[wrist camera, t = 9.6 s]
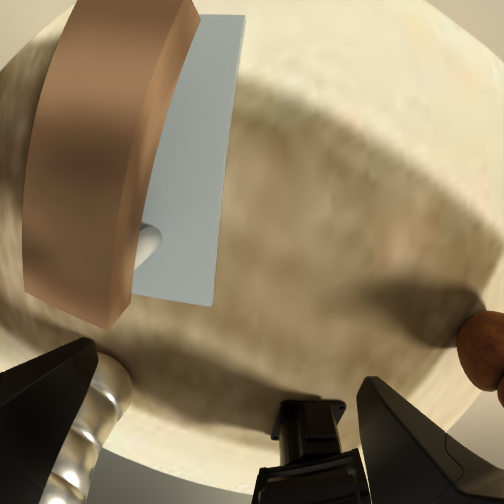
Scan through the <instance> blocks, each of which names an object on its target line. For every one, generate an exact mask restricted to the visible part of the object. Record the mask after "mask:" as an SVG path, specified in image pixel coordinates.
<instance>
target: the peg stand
mask: <svg viewBox="0 0 504 504" xmlns="http://www.w3.org/2000/svg"><path fill="white" fill-rule="evenodd" d="M199 16H200V18H201V22H200V24H199V26H198V29H197V31H196V33H195V36H194V38H193V41H192V43H191V46H190V48H189V51H188V54H187V56H186V59H185V62H184V64H183V67H182V70H181V73H180V76H179V78H178V81H177V84H176V87H175V90H174V93H173V97H172V100H171V103H170V106H169V109H168V113H167V116H166V119H165V123H164V126H163V130H162V133H161V137H160V141H159V145H158V148H157V152H156V156H155V160H154V165H153V169H152V173H151V177H150V182H149V186H148V191H147V196H146V201H145V206H144V211H143V216H142V222H141V227H140V233H139V239H138V246H137V252H136V259H135V266H134V274H133V282H132V291H131V293H132V294H137V295H142V296H148V297H154V298H159V299H165V300H171V301H177V302H183V303H190V304H196V305H203V306H210V307H211V305H212V302H213V297H214V283H215V271H216V258H217V247H218V236H219V225H220V215H221V204H222V195H223V185H224V176H225V167H226V158H227V150H228V142H229V133H230V126H231V118H232V110H233V103H234V95H235V88H236V81H237V74H238V68H239V61H240V54H241V48H242V42H243V36H244V29H245V23H246V20H245V16H244V15H199Z"/></svg>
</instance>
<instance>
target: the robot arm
mask: <svg viewBox="0 0 504 504" xmlns="http://www.w3.org/2000/svg"><path fill="white" fill-rule="evenodd" d="M98 361H99V359H98V354H97V349H96V345H95V342H94V340H92V339H89V338H86V337H82V338H80V339H77V340H75V341H73V342H70V343H68V344H66V345H64V346H61V347H59V348H57V349H54V350H52V351H50V352H48V353H45V354H43V355H41V356H38V357H36V358H34V359H31V360H29V361H27V362H25V363H22V364H20V365H18V366H15V367H13V368H11V369H8V370H6V371H5V372H1V373H0V504H39V502H40V500H41V497H42V494H43V492H44V489H45V486H46V484H47V481H48V479H49V476H50V474H51V471H52V469H53V466H54V464H55V462H56V459H57V457H58V455H59V452H60V450H61V448H62V446H63V443H64V441H65V439H66V437H67V435H68V433H69V430H70V428H71V426H72V424H73V422H74V420H75V418H76V416H77V414H78V412H79V410H80V408H81V406H82V404H83V401H84V399H85V397H86V395H87V392H88V389H89V386H90V384H91V381H92V379H93V376H94V373H95V371H96V368H97V366H98ZM356 400H357V410H358V421H359V432H360V439H361V445H362V450H363V455H364V460H365V465H366V470H367V476H368V482H369V487H370V493H369V488H368V483H367V479H366V475H365V472H364V468H363V464H362V461H361V457H360V454H359V450H358V448H355V449H352V450H351V451H348V452H344V453H343V452H342V447H341V443H340V438H339V433H338V429H337V424H338V423H339V421H340V419H341V417H342V415H343V413H344V411H345V409H346V403H345V402H307V401H282V402H281V403H280V406H279V410H278V413H277V416H276V419H275V423H274V426H273V429H272V432H271V439H272V440H279V446H280V466H278V467H271V468H266V467H264V468H260V470H259V474H258V476H257V480H256V485H255V489H254V494H253V499H252V503H251V504H371V500H372V504H504V470H503V469H500V468H497V467H495V466H494V465H492V464H491V463H489V462H487V461H486V460H484V459H483V458H481V457H479V456H478V455H476V454H474V453H473V452H471V451H470V450H469V449H467V448H466V447H464V446H463V445H462V444H460V443H459V442H458V441H456V440H455V439H453V438H452V437H451V436H450V435H449V434H447V433H445V431H444V430H442V429H441V428H440V427H439V426H437V425H436V424H435V423H434V422H432V421H431V420H430V419H429V418H428V417H426V416H425V415H424V414H423V413H421V412H420V411H419V410H418V409H417V408H415V407H414V406H413V405H412V404H410V403H409V402H408V401H407V400H406V399H404V398H403V397H402V396H401V395H400V394H398V393H397V392H396V391H395V390H393V389H392V388H391V387H390V386H389V385H387V384H386V383H385V382H384V381H383V380H381V379H380V378H379V377H377V376H367V377H366V378H365V379H364V380H363V383H362V385H361V387H360V389H359V391H358V393H357V397H356ZM285 405H286V406H285ZM370 494H371V498H370Z"/></svg>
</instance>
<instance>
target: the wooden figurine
mask: <svg viewBox="0 0 504 504" xmlns="http://www.w3.org/2000/svg"><path fill="white" fill-rule="evenodd" d="M456 345H457V351H458V356H459V360H460V363H461V365H462V368H463V370H464V372H465V374H466V375H467V377H468V378H469V380H470V381H471V382H472V383H473V384H474V385H475V386H476V387H478V388H479V389H481V390H483V391H489V392H493V391H495V390H497V393H498V399H499V401H500V403H501V405H502V406H503V407H504V314H503V313H500V312H495V311H483V312H479V313H477V314H475V315H474V316H472V317H471V318H470V319H468V320H467V321H466V322H465V324H464V325H463V326H462V327H461V330H460V332H459V334H458V337H457V342H456Z"/></svg>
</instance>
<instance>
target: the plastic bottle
mask: <svg viewBox="0 0 504 504" xmlns="http://www.w3.org/2000/svg"><path fill="white" fill-rule="evenodd" d="M97 354H98V359H99V361H98V366H97V368H96V371H95V373H94V376H93V379H92V381H91V384H90V386H89V389H88V392H87V395H86V397H85V399H84V401H83V404H82V406H81V408H80V410H79V412H78V414H77V416H76V418H75V420H74V422H73V424H72V426H71V428H70V430H69V433H68V435H67V437H66V439H65V441H64V443H63V446H62V448H61V450H60V452H59V455H58V457H57V459H56V462H55V464H54V466H53V469H52V471H51V474H50V476H49V479H48V481H47V484H46V486H45V489H44V492H43V494H42V497H41V500H40V502H39V504H86V498H87V495H88V491H89V486H90V481H91V477H92V473H93V470H94V467H95V464H96V462H97V459H98V455H99V453H100V451H101V448H102V446H103V444H104V442H105V441H106V439H107V437H108V436H109V434H110V432H111V431H112V429H113V427H114V426H115V424H116V422H117V421H118V420H119V419H120V418H121V417H122V416H123V414H124V413H125V411H126V410H127V408H128V407H129V405H130V402H131V398H132V393H133V386H132V382H131V378H130V376H129V374H128V372H127V371H126V369H125V368H124V367H123V366H122V365H121V364H120V363H119V362H118V361H117V360H115V359H114V358H112V357H111V356H109V355H106V354H104V353H100V352H97Z"/></svg>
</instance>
